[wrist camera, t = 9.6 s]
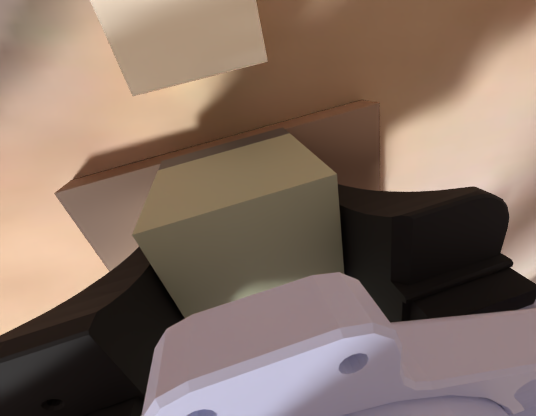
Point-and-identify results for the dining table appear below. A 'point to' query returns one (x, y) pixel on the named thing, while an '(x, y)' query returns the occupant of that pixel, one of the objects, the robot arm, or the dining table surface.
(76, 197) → the walnut board
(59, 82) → the dining table surface
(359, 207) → the robot arm
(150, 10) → the birch offcut
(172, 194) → the block
